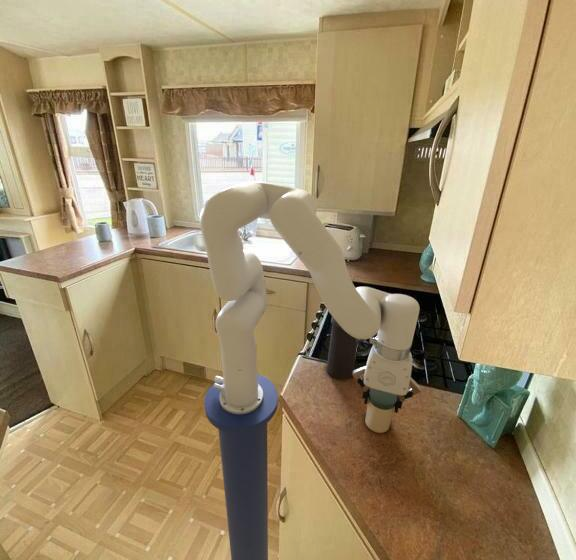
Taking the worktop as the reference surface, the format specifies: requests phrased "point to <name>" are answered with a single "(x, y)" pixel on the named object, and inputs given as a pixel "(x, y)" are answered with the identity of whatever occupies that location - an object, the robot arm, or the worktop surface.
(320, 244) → the robot arm
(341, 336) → the container
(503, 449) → the worktop surface
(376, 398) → the jam lid
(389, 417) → the jam jar
